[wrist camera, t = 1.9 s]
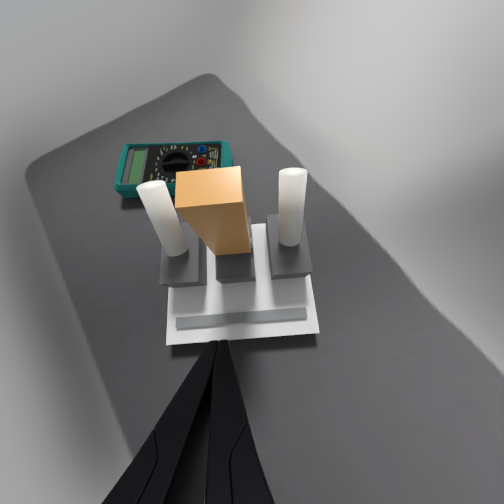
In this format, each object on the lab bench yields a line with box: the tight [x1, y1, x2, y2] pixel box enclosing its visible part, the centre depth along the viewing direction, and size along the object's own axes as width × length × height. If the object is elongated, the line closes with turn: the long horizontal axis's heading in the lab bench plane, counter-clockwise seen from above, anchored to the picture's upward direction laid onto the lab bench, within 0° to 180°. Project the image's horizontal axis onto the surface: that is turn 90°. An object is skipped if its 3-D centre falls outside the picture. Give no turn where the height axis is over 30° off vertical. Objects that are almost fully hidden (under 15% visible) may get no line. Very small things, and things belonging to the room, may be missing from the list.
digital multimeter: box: [114, 141, 233, 198], centre depth 25 cm, size 7×15×3 cm, turn 90°
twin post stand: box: [136, 168, 319, 345], centre depth 17 cm, size 13×15×11 cm
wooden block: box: [175, 166, 253, 255], centre depth 14 cm, size 2×4×9 cm, turn 95°
